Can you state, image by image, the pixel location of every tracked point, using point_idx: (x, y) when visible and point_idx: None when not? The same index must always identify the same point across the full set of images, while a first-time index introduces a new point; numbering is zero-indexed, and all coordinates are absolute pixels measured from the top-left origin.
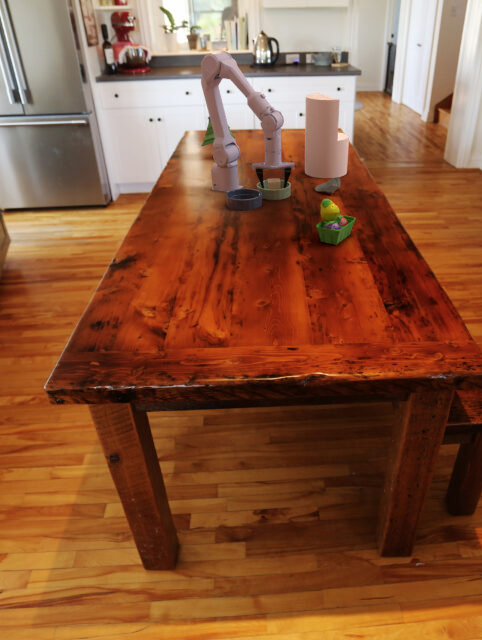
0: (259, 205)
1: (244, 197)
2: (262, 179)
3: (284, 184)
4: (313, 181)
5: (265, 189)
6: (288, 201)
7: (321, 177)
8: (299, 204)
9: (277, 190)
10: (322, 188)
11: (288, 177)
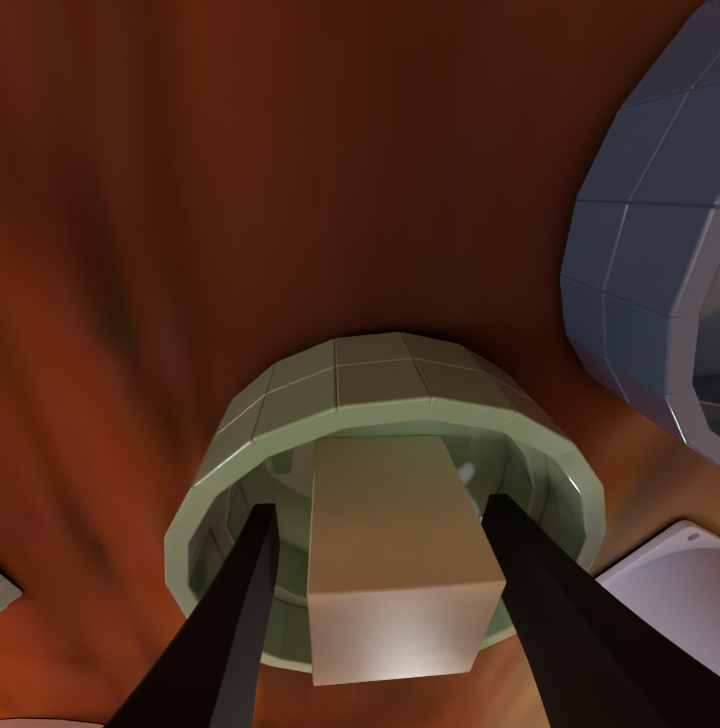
0: (687, 38)
1: (709, 387)
2: (610, 637)
3: (250, 568)
4: (81, 683)
5: (550, 431)
6: (225, 315)
7: (39, 723)
8: (47, 176)
9: (365, 399)
10: None
11: (129, 709)
